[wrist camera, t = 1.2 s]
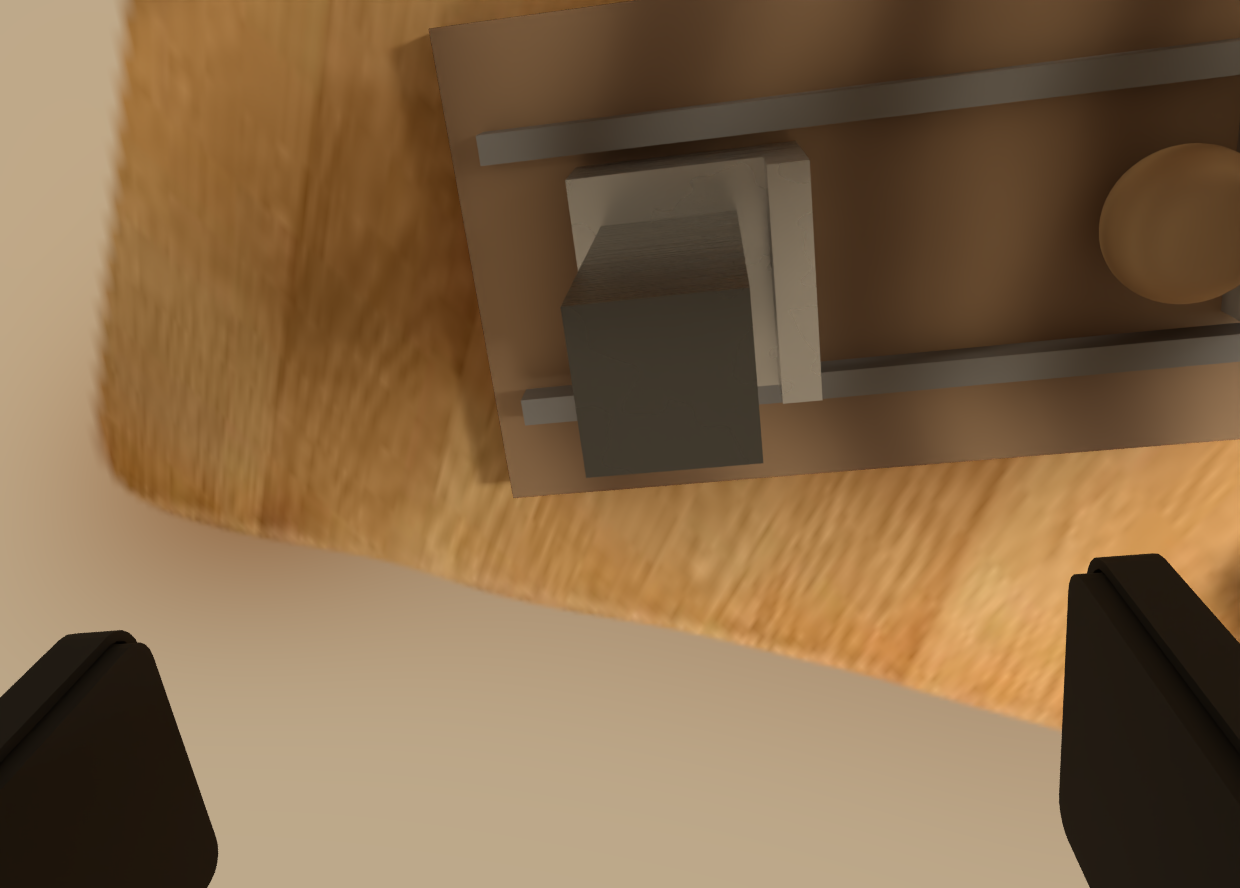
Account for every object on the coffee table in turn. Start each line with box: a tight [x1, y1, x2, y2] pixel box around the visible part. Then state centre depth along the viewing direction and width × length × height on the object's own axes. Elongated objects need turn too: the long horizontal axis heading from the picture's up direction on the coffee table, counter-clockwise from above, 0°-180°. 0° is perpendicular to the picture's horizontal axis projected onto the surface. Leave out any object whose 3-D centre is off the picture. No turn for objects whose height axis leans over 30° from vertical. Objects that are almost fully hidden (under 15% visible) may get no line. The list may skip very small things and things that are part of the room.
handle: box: [560, 141, 822, 478], centre depth 24 cm, size 6×6×10 cm
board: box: [429, 0, 1240, 498], centre depth 27 cm, size 24×14×6 cm, turn 97°
